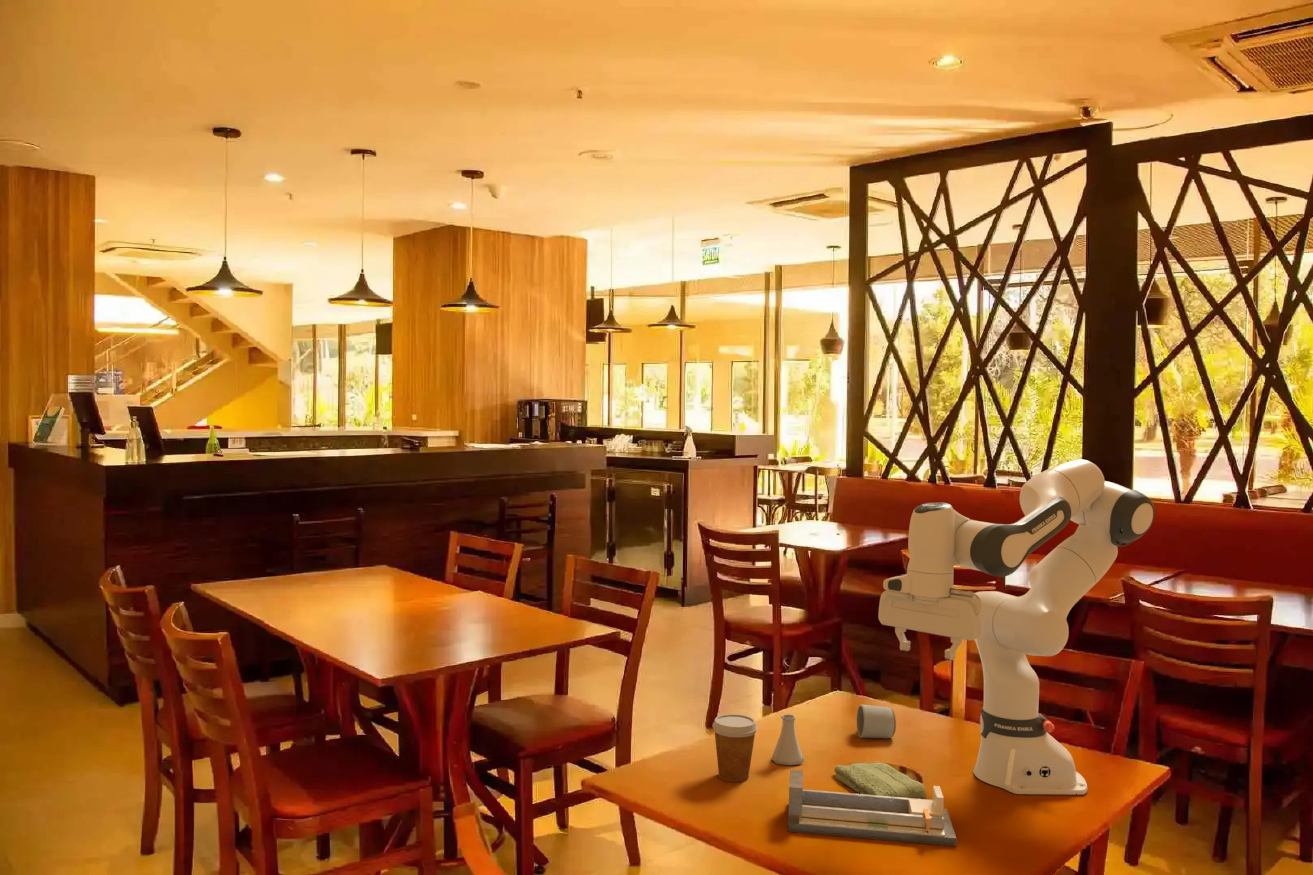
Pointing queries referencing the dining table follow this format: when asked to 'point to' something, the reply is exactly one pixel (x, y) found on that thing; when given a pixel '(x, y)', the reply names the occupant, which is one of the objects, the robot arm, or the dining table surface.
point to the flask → (787, 744)
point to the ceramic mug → (875, 722)
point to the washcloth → (879, 780)
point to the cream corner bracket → (928, 806)
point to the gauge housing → (862, 816)
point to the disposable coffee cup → (734, 745)
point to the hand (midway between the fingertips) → (927, 654)
